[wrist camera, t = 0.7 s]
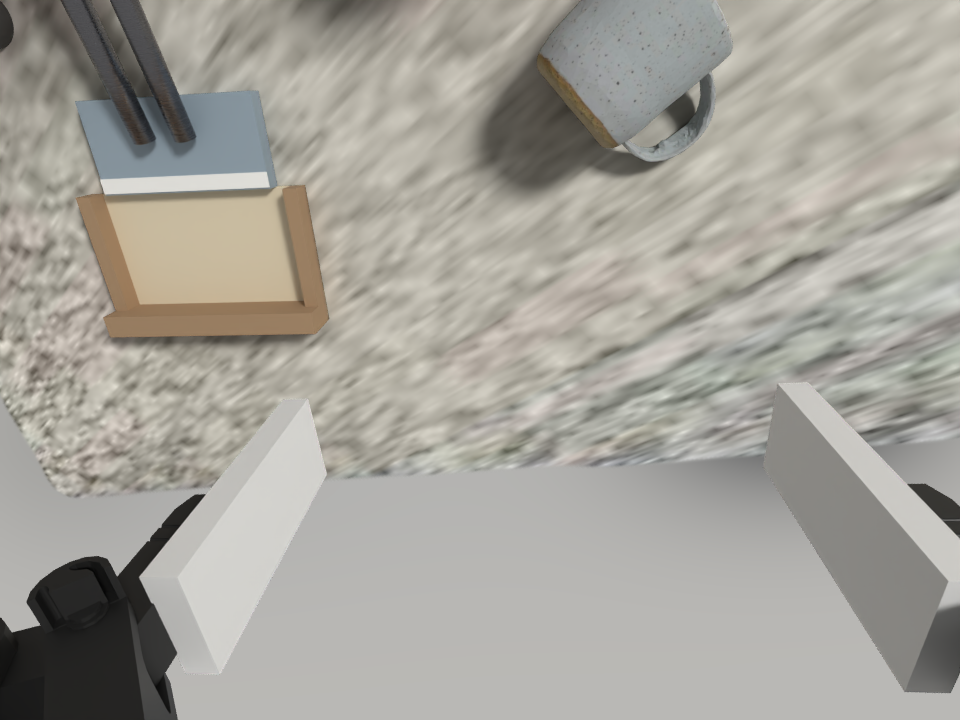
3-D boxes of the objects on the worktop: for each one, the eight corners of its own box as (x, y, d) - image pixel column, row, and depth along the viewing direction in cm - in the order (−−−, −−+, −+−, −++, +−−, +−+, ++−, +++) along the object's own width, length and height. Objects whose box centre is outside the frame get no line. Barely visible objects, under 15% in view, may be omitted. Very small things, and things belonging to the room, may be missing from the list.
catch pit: (92, 194, 40) (60, 201, 37) (304, 185, 38) (287, 191, 35) (136, 322, 44) (110, 337, 41) (329, 319, 42) (315, 333, 40)
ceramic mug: (525, 63, 34) (526, 56, 27) (631, -54, 31) (662, -95, 24) (634, 189, 37) (660, 212, 30) (740, 92, 34) (796, 93, 27)
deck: (88, 101, 37) (73, 101, 36) (258, 91, 36) (249, 90, 35) (117, 193, 39) (105, 196, 38) (277, 186, 38) (269, 188, 37)
